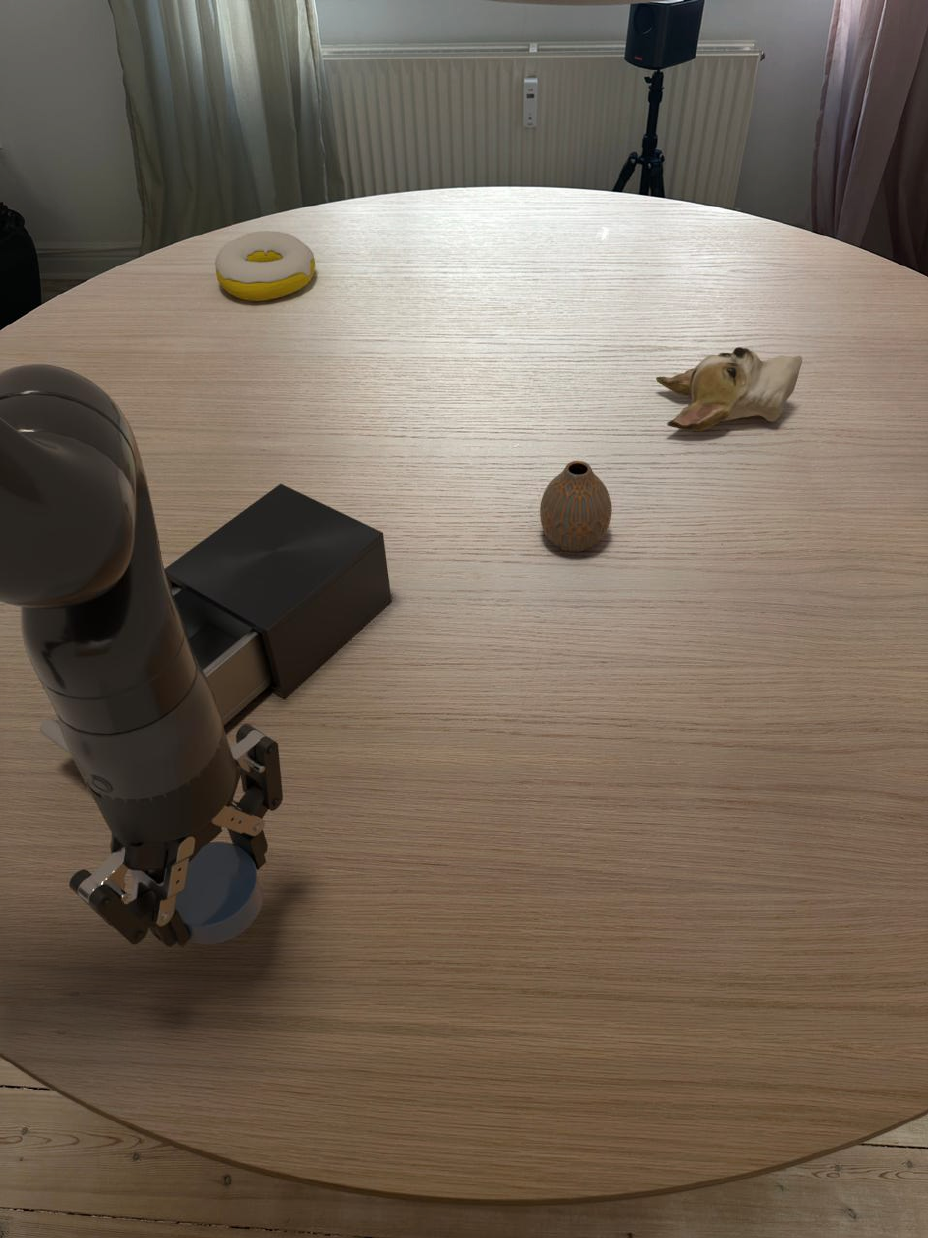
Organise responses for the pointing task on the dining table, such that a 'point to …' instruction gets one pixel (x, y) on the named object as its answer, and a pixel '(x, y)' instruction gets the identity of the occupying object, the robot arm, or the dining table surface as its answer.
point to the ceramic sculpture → (733, 388)
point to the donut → (264, 265)
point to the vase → (575, 508)
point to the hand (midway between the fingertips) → (214, 896)
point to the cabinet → (291, 579)
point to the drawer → (214, 658)
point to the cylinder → (219, 893)
